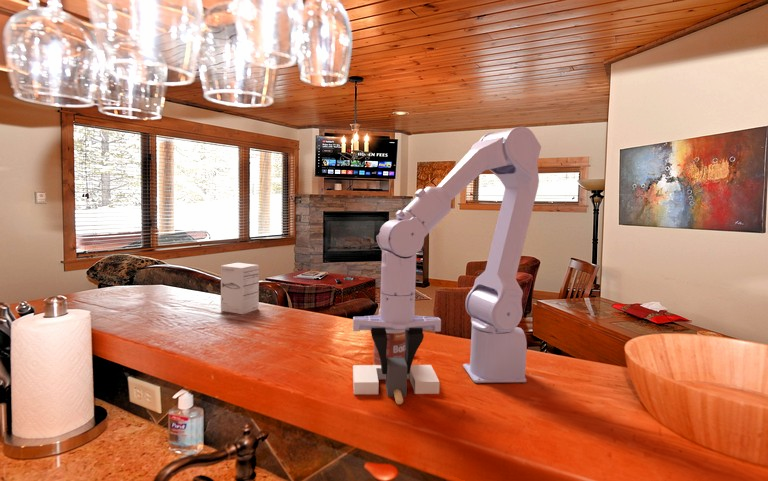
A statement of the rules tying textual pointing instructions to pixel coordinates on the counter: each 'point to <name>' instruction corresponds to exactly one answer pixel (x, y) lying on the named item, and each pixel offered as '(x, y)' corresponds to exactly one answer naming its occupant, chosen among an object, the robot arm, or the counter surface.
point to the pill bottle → (392, 345)
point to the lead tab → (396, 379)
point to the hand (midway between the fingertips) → (395, 371)
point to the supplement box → (239, 288)
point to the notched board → (369, 375)
